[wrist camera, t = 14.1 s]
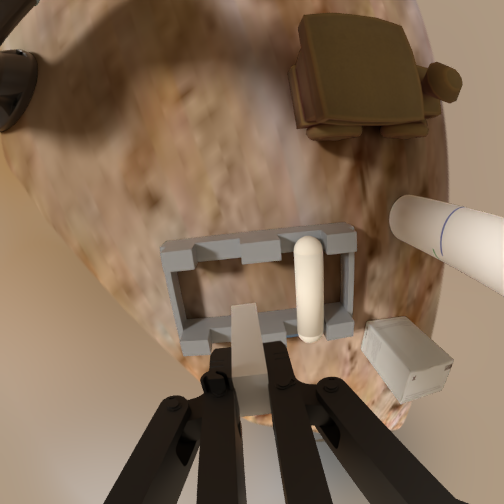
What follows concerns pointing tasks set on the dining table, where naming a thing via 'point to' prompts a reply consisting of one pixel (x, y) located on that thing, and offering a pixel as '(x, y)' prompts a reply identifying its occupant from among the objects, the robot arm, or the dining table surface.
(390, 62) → the wooden toy train
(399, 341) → the skincare box
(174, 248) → the grey notched frame
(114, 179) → the dining table surface
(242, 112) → the dining table surface
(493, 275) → the cylindrical container
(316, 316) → the cream round-ended rod
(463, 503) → the robot arm
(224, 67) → the dining table surface
